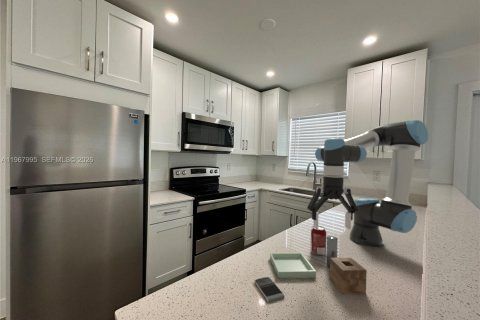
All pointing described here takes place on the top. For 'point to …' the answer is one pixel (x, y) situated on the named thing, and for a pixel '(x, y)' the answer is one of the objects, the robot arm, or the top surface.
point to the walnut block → (348, 276)
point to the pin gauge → (331, 249)
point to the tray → (292, 265)
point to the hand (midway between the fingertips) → (331, 228)
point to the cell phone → (269, 289)
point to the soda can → (318, 240)
